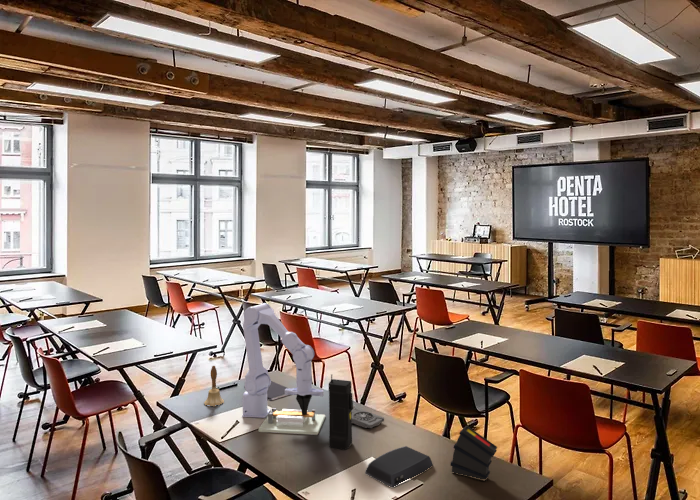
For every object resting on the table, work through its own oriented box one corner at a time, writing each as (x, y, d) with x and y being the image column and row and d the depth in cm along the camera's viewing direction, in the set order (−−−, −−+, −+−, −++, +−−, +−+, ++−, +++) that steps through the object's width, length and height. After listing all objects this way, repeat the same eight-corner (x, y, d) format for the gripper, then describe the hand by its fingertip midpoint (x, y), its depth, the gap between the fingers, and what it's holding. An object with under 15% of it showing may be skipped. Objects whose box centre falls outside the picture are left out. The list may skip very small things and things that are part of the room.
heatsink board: (258, 431, 195) (258, 418, 194) (270, 414, 211) (270, 402, 210) (317, 434, 192) (317, 421, 192) (325, 417, 208) (325, 404, 207)
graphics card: (332, 413, 204) (353, 403, 213) (333, 423, 204) (353, 412, 213) (366, 426, 193) (386, 415, 201) (366, 436, 193) (386, 425, 202)
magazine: (445, 461, 169) (465, 424, 164) (481, 488, 163) (504, 450, 159) (441, 466, 166) (461, 428, 161) (478, 494, 160) (500, 456, 156)
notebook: (244, 389, 241) (271, 401, 225) (244, 385, 241) (271, 398, 225) (267, 382, 249) (295, 394, 234) (267, 379, 249) (295, 390, 234)
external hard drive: (362, 474, 165) (362, 461, 165) (404, 454, 178) (404, 442, 178) (393, 490, 156) (393, 477, 155) (435, 468, 169) (435, 455, 168)
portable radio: (355, 443, 185) (355, 373, 183) (349, 450, 180) (349, 378, 177) (334, 439, 188) (333, 371, 186) (328, 447, 182) (327, 376, 180)
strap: (269, 416, 201) (269, 413, 201) (271, 413, 204) (271, 410, 204) (312, 418, 199) (312, 414, 198) (314, 415, 201) (314, 411, 201)
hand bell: (226, 399, 227) (225, 362, 226) (221, 406, 219) (220, 369, 217) (206, 399, 227) (205, 363, 226) (201, 406, 219) (200, 369, 217)
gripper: (282, 381, 196) (283, 417, 197) (321, 383, 194) (321, 418, 195) (287, 375, 203) (287, 409, 204) (324, 376, 201) (324, 411, 202)
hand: (304, 413), depth 200 cm, fingers closed, pressing on strap
